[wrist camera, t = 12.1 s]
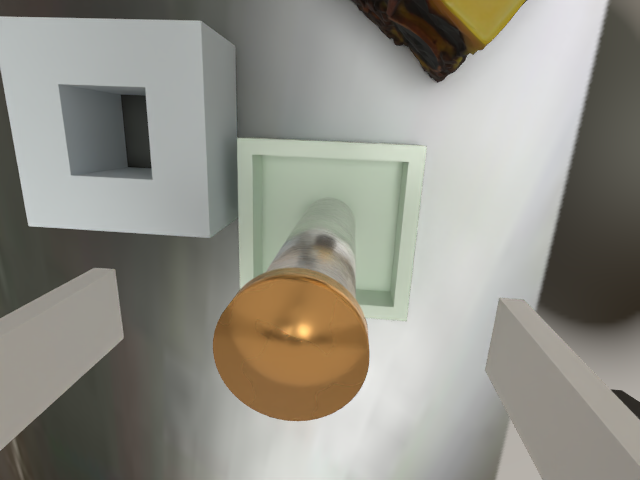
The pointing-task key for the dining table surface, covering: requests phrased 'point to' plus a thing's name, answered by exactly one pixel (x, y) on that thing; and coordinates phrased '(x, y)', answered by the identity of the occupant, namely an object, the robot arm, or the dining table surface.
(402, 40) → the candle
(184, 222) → the block
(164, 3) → the dining table surface
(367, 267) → the tray
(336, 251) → the pin
